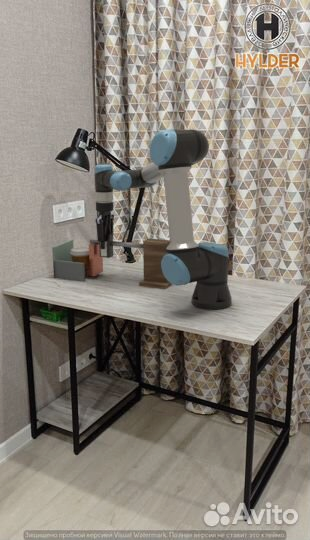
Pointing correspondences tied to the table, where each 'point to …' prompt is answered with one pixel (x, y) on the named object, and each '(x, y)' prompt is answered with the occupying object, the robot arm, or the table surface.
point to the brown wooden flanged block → (154, 263)
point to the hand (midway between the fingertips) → (106, 254)
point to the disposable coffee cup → (80, 255)
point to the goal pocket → (66, 263)
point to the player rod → (97, 259)
